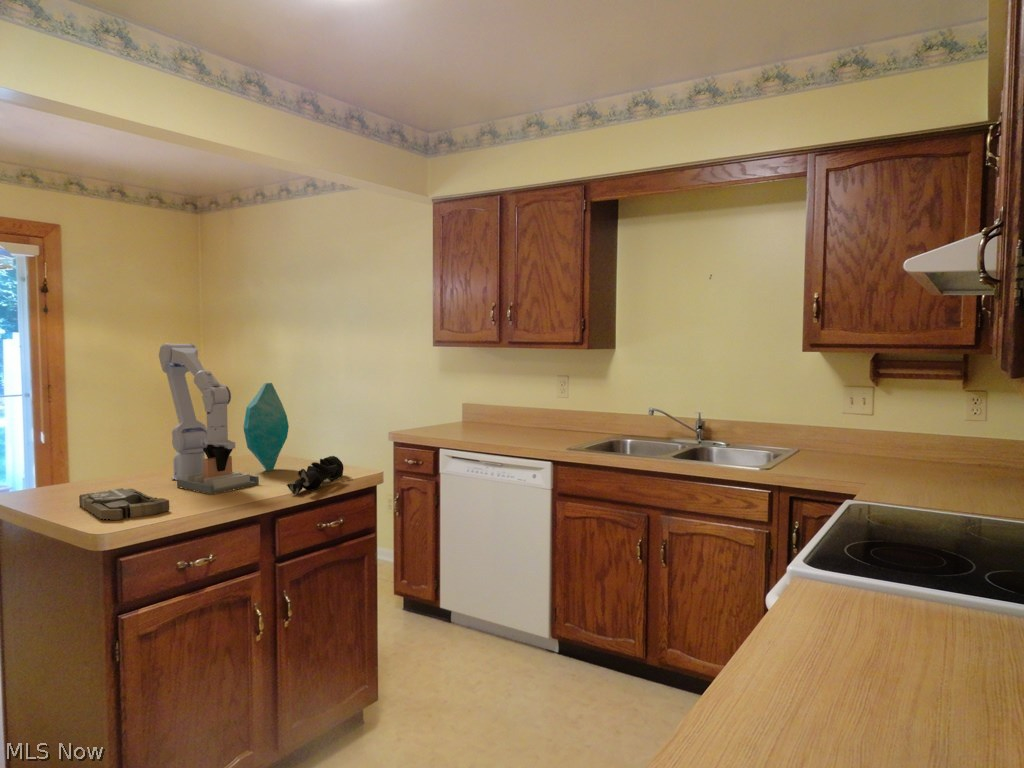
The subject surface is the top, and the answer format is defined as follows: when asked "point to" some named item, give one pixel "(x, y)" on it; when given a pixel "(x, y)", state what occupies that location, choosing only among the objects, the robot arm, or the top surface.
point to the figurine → (317, 474)
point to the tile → (215, 468)
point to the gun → (122, 504)
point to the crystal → (266, 426)
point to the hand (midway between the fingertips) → (218, 470)
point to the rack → (217, 482)
